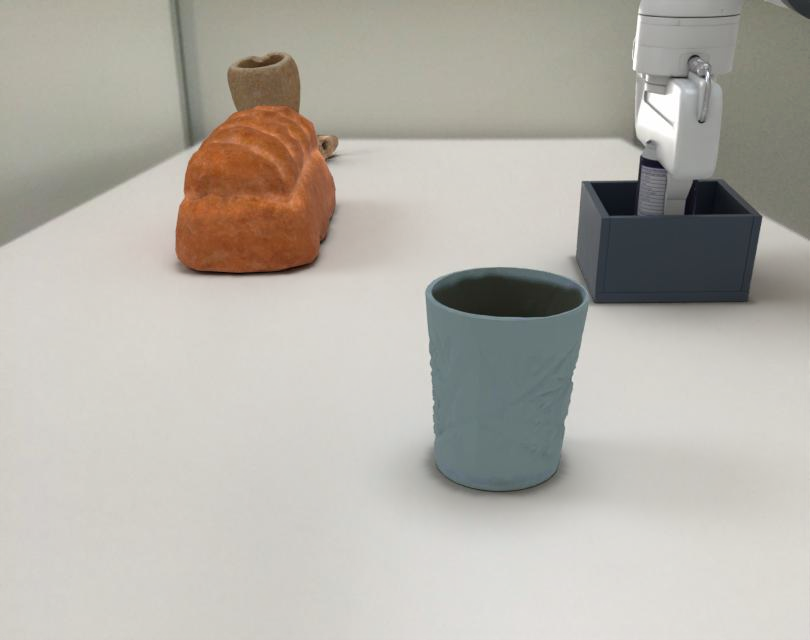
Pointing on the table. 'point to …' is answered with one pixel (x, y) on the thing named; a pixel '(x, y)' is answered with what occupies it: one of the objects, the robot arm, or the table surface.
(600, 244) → the bin
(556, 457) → the teal cup
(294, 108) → the stone cup
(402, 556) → the table surface
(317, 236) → the bread
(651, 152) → the beverage can
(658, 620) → the table surface
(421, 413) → the table surface
